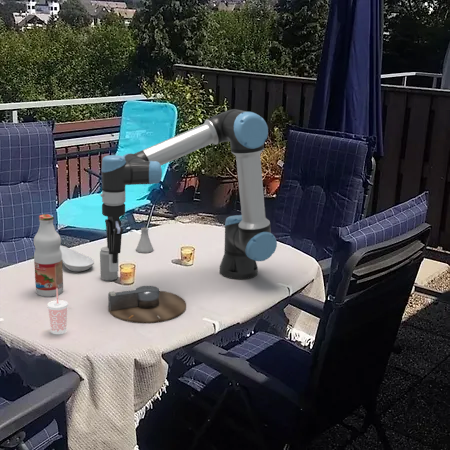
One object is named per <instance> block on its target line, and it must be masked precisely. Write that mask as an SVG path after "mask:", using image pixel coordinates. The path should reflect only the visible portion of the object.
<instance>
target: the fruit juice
mask: <svg viewBox="0 0 450 450" xmlns="http://www.w3.org/2000/svg"><path fill="white" fill-rule="evenodd" d="M54 221H55V220H54V215H53V214H50V213H47V214H46V213H45V214H40V215H38V222H39V227H38V230H37V232H36V234H35V235H34V237H33V244H34V248H35V250H34V253H33V260H34V261H33V262H34V279H35V280H34V281H35V282H34V283H35V292H36V294H37V295H38V296H40V297H57V296H56V288H58V296H59V295H61V294H62V293H63V292H64V275H63V274H64V273H63V261H62V253H61V250H60V246H61V243H62V240H61V239H62V238H61V236H60V234H59V233H58V231H56V228H55V225H54Z"/></svg>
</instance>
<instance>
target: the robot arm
mask: <svg viewBox="0 0 450 450" xmlns="http://www.w3.org/2000/svg"><path fill="white" fill-rule="evenodd" d="M268 135H269V126H268V124H267V122H266V120H265V118H263V117H262V116H260V115H259V114H257V113H256V112H253V111H247V110H242V109H238V108H237V109H236V108H233V109H229V110H226V111H224V112H221V113H219V114H216V115H214V116H212V117H209V118H208V119H204V123H203V124H200V125H197V126H196V127H194V128H191V129H188V130H187V131H184V132H182V133H179V134H176V135H175V136H172V137H170V138H168V139H166V140H162V141H160V142H159V143H156V144H154V145H151V146H149V147H147V148H145V149H142V150H140V151H137V152H134V153H132V152H131V153H125V154H123V155H113V154H112V155H105V156H103V157H102V161H101V170H100V171H101V193H100V194H99V196H100V197H101V202H102V205H101V212H102V216H104V217H107V218H106V219H105V231H106V232H105V233H106V243H107V245H106V247H107V248H109V271H110V272H119V254H121V249H122V236H123V235H122V234H123V230H124V229H123V227H121V226H122V220H120V219H121V217H123V216H125V215H126V204H125V202H126V186H130V185H133V186H134V185H154V184H155V185H156V184H159V183H160V182H161V180H162V176H163V175H162V174H163V170H162V166H164V165H165V164H168V163H170V162H173V161H175V160H177V159H180V158H182V157H184V156H186V155H188V154H191V153H193V152H195V151H196V152H197V150H200V149H202V148H205V147H207V146H209V145H211V144H213V145H219V144H221V143H225V142H230V152H231V154H233V155H234V156H235V160H236V170H237V171H236V172H237V180H238V191H239V201H240V203H239V204H240V212H241V214H239V215H237V214H236V215H230V216H228V217H226V218H225V222H224V223H225V224H224V251H223V252H224V253H223V256H222V259H221V261H220V265H219V268H218V269H219V274H220V275H221V276H222V277H224V278H229V279H232V280H233V279H234V280H246V279H253V278H254V277H256V276H257V275H258V274H259V272H258V271H259V268H258V263H257V262H264V261H266V260H269V259H270V258H271V257H272V255H274V254H275V251H276V250H277V247H278V246H277V245H278V243H277V238H276V237H275V235H274V234H273V233H272V230H271V222H270V220H269V219H268V218H267V217H266V207H265V196H264V186H263V183H264V182H263V172H262V161H261V160H262V159H261V154H262V152H263V151H264V150H265V142H266V141H267V139H268Z"/></svg>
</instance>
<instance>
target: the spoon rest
mask: <svg viewBox="0 0 450 450" xmlns="http://www.w3.org/2000/svg"><path fill="white" fill-rule="evenodd" d="M60 250H61V253H62V264H63V265H64V267H65V268H67V270H69V271H71V272H84V271H86V270H89V269H91V268H92V266H93V265H94V264H95V259H93V258H92V257H90V256H89V255H86V254H83V253H81V252H79V251H76V250H74V249H72V248H69V247H67V246H65V245H60Z"/></svg>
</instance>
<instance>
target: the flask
mask: <svg viewBox="0 0 450 450" xmlns="http://www.w3.org/2000/svg"><path fill="white" fill-rule="evenodd" d="M149 229H150V228H148V227H141V228H140V231H141V234H140V237H139V241H138V244H137V246H136V249H135V251H136V252H138V253H141V254H149V253H152V252H153V251H154V247H153V244H152V243H151V240H150V237H149Z"/></svg>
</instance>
